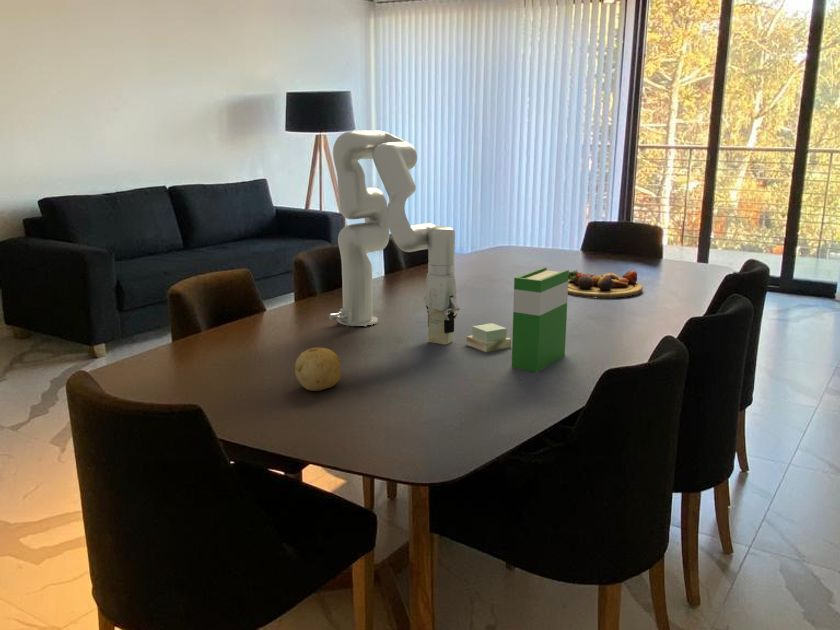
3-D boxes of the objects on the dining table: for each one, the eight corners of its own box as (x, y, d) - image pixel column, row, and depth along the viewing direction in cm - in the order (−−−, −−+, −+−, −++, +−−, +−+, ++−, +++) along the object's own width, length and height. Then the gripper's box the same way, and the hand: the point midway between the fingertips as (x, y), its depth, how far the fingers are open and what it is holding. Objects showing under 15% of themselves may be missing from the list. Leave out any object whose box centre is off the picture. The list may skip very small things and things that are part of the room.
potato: (351, 384, 191) (350, 345, 189) (317, 399, 181) (316, 358, 178) (319, 377, 196) (318, 339, 194) (285, 391, 186) (283, 351, 184)
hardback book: (540, 351, 219) (543, 267, 213) (564, 355, 215) (568, 270, 209) (511, 367, 204) (514, 277, 199) (537, 372, 200) (540, 280, 195)
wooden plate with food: (634, 283, 312) (635, 262, 310) (649, 300, 281) (650, 277, 279) (554, 283, 315) (554, 262, 313) (560, 299, 284) (560, 277, 282)
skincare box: (427, 342, 227) (428, 301, 224) (434, 338, 231) (434, 298, 228) (447, 345, 224) (447, 304, 221) (453, 341, 228) (454, 301, 225)
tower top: (486, 341, 218) (487, 331, 218) (472, 336, 224) (472, 326, 223) (506, 338, 222) (506, 328, 221) (491, 333, 228) (491, 323, 227)
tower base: (486, 353, 218) (486, 343, 217) (466, 346, 225) (466, 336, 224) (510, 348, 223) (511, 338, 222) (490, 341, 230) (491, 331, 229)
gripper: (413, 266, 227) (413, 325, 232) (448, 276, 213) (448, 338, 218) (434, 264, 231) (434, 321, 236) (470, 273, 217) (469, 334, 222)
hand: (440, 329), depth 227 cm, fingers closed on skincare box, 7 cm apart
